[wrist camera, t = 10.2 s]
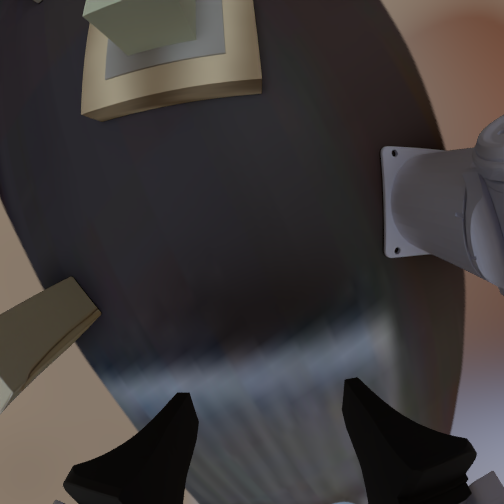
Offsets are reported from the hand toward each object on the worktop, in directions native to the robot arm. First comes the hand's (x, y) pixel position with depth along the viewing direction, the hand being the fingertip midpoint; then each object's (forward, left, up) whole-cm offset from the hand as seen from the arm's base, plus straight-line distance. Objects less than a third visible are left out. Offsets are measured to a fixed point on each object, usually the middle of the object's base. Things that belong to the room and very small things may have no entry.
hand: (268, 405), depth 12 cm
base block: (+5, -22, -9) cm, 24 cm away
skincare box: (+17, -1, -10) cm, 20 cm away
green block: (+5, -22, -6) cm, 23 cm away
